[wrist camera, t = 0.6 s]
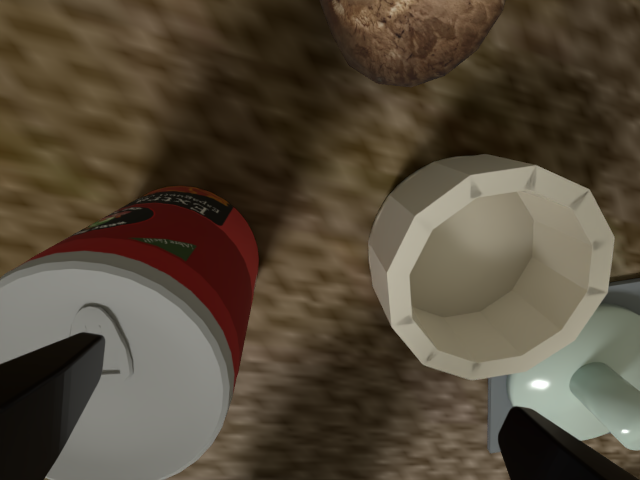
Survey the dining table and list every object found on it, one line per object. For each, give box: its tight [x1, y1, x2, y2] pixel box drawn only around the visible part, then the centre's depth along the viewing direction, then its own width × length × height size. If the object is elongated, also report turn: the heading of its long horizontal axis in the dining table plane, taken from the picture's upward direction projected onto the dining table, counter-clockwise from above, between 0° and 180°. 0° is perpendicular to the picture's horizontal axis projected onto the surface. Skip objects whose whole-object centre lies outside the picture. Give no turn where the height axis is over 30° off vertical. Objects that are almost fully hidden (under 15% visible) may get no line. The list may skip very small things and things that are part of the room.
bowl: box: [368, 154, 615, 380], centre depth 20 cm, size 10×10×5 cm
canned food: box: [0, 186, 259, 480], centre depth 16 cm, size 8×8×11 cm
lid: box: [506, 303, 640, 450], centre depth 23 cm, size 10×10×5 cm
